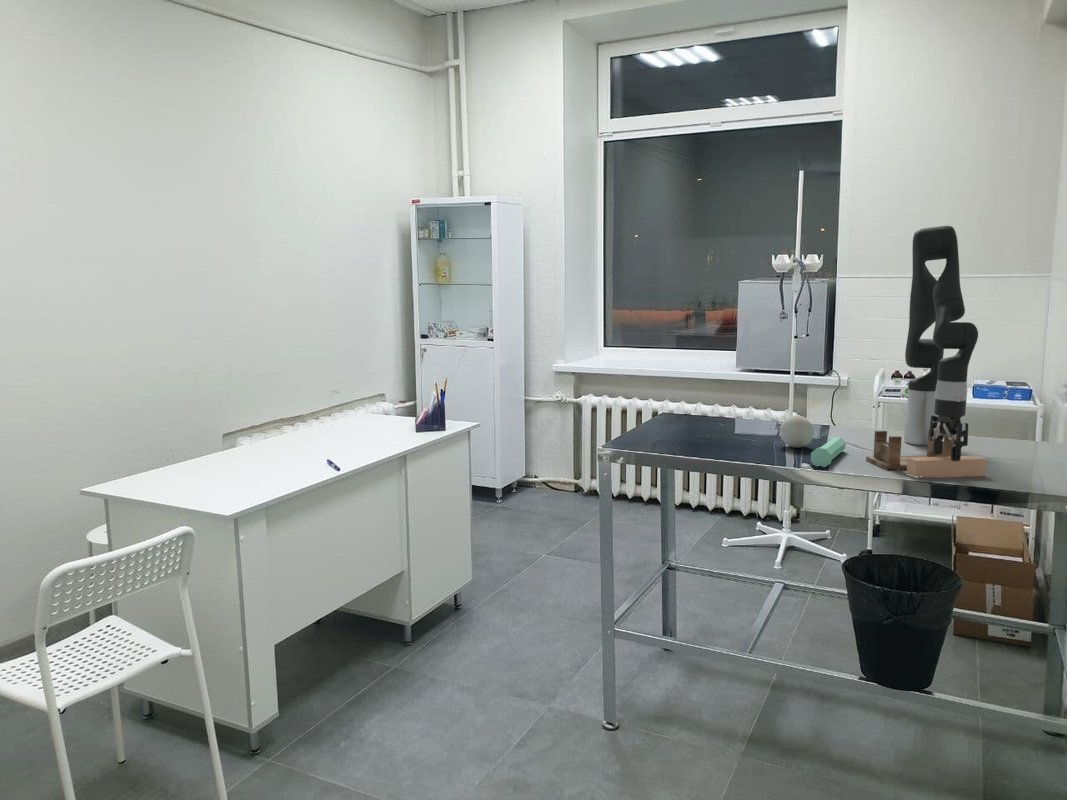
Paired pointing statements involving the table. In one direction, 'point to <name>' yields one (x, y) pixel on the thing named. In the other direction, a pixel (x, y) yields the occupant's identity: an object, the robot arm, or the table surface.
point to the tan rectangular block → (946, 466)
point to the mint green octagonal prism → (827, 452)
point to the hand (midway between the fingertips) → (946, 457)
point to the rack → (890, 452)
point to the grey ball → (796, 431)
